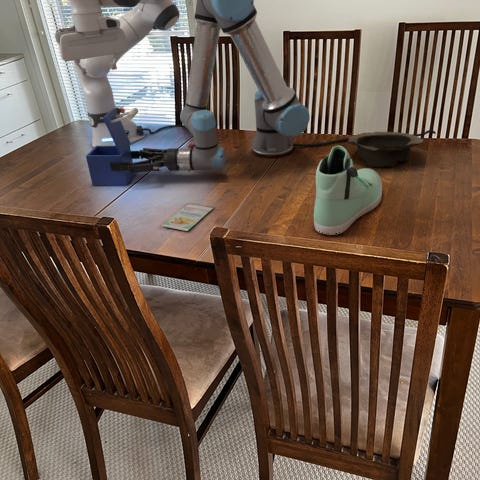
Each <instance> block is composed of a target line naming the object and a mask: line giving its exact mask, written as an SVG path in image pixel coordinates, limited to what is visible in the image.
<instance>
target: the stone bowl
mask: <svg viewBox="0 0 480 480" xmlns="http://www.w3.org/2000/svg"><path fill="white" fill-rule="evenodd" d="M348 138H349V140H348V141H347V143H348V144H351V145H353V146H356V150H357V151H356V152H357V154H358V155H360V157H361V159H363V160H364V161H366V164H367V166H368V167H372V168H375V167H376V168H385V167H394V166H396V165H397V164H398V162H406V161H408V160H409V158H410V151H411V148H413V147H416V146H419V145H420V144H422V143H424V142H425V141H424V139H422V138H420V136H418V137H417V136H414V135H411V133H407V132H397V131H373V132H362V133H358V134H353V135H351V136H349V137H348Z"/></svg>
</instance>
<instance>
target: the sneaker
mask: <svg viewBox="0 0 480 480" xmlns="http://www.w3.org/2000/svg"><path fill="white" fill-rule="evenodd" d="M317 165H318V166H317V168H316V172H315V201H314V207H313V225H314V229H315V231H316V232H318V233H320V234H323V235H326V236H327V235H328V236H336V235H339V234H342V233H344V232H345V231H347V230H348V229H349V228H350V227H351V226H352V225H353V224H354V222H356V221H357V220H358V219H359V218H360V217H362V216H363V215H365V214H367V213H370V212H372V210H374V209H375V208H377V207H378V205H380V203H381V200H382V196H383V184H382V183H383V182H382V179H381V176H380V175H379V173H378V172H377V171H376V170H374V169H372V168H367V167H365V168H358V169H357V168H355V167H354V161H353V159H352V158H351V156H350V153H349V152H348V150H347V148H345V147H344V146H342V145H334V146H333V147H331V149H330V151H329V154H327V155H326V156H325V157H324V158H322V159H321V160H320V161H319V163H318V164H317ZM343 230H344V231H343ZM319 231H320V232H319ZM322 232H323V233H322ZM339 232H340V233H339ZM326 233H327V234H326ZM328 233H329V234H328ZM335 233H337V234H335Z"/></svg>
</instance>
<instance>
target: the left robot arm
mask: <svg viewBox="0 0 480 480" xmlns="http://www.w3.org/2000/svg"><path fill="white" fill-rule="evenodd" d="M68 2H69V4H70V15H71V19H72V24H73V25H69V26H61V27H58V29H56V30H55V31H54V38H55V41H56V43H57V44H58V48H59V54H60V58H61V59H62V60H63V61H64V62H73V64H74V66H75V70H76V74H77V77H78V80H79V84H80V86H81V89H82V92H83V96H84V100H85V104H86V108H87V118H88V122H89V125H90V127H91V128H90V129H91V137H92V138H91V140H92V141H91V147H92V148H94V147H95V146H115V143H114V141H113V139H112V137H111V135H110V133H109V130H108V128H107V126H106V124H105V122H104V120H103V117H104V116H105V115H106V114H108V113H109V112H110V111H111V110H112V109H114V108H115V109H116V112H117V114H118V115H119V114H123V113H126V109H125V108H124V107H123V108H122V107H117V106H116V103H115V97H114V94H113V88H112V86H111V84H110V81H109V77H108V74H109V73H110V70H112V71H114V70H115V71H116V70H117V69H118V66H117V63H118V62H119V61H120V60H121V58H122V57H123V56H124V55H126V53H128V52H129V51H130V50H132V49H133V48H134V47H135V46H136V45H138V44H139V43H140V42H141V41H143V40H144V39H145V38H146V37H147V36H148V35H149V34H150V33H151V31H152V30H155V31H156V30H158V31H168V30H169V29H171V28H173V27H174V26H175V25H176V23H177V22H178V21H179V18H180V11H179V8H178V7H177V5H176V4H174V2H173V0H68ZM103 8H104V9H105V8H107V9H108V8H129V9H130V8H132V9H130V10H128V11H126V12H125V13H123V14H122V15H121V16H120V17H119V18H114V17H110V16H108V15H106V16H104V15H103V10H102V9H103ZM122 117H124V116H122ZM119 118H121V117H119ZM120 121H121V123H122V125H123V127H124V130H125V132H126V134H127V136H128V139H129V141H130V143H131V144H132V143H135V142H137V141H139V140H141V139H143V138H145V137H146V135H145V131H146V132H147V131H148V132H149V135H154V134H157V133H158V132H160V131H163V130H165V129H171V128H186V127H185V126H184V125H183V124H174V125H173V124H172V125H167V126H162V127H159V128H158V129H156V130H155V131H152V130H151V129H150V128H146V127H145V128H143V126H142V125H137V124H136V123H135V122H134V121H133V120H132V119H131V120H129V119H128V118H127V119H124V120H120Z"/></svg>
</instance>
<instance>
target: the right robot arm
mask: <svg viewBox="0 0 480 480" xmlns="http://www.w3.org/2000/svg"><path fill="white" fill-rule="evenodd" d="M254 2H255V0H196V3H195V10H194V21H195V24H196V27H195V35H194V42H193V49H192V56H191V62H190V70H189V76H188V83H187V89H186V97H185V103H184V107H183V108H182V109H181V111H180V116H179V117H180V121H181V123H182V125H184V126H185V127H184V128H185V129H187V130H188V131H189V132H190V134H191V135H192V137H193V142H194V143H195V146H194V147H195V148H194V147H190V148H188V147H181V148H178V147H174V148H173V147H172V148H171V147H170V148H164V149H163V148H149V147H143V148H142V149H140V150H131V154H132V160H139V161H135V162H134V161H133V163H130V162H111V163H110V166H111V170H112V171H129V172H130V174H133V173H135V174H139V173H141V174H142V173H149V172H160V170H161V169H160V168H165V167H166V169H167V170H168V171H169V172H178V171H183V172H185V171H186V172H191V171H210V172H212V171H222V170H224V169H225V167H226V163H227V162H226V161H227V159H226V158H227V157H226V150H225V148H224V147H220V146H219V144H218V135H217V121H216V116H215V113H214V112H213V111H212V110H208V104H209V98H210V91H211V85H212V78H213V75H214V69H215V62H216V58H217V57H216V56H217V50H218V45H219V39H220V32H221V31H222V33H223V34H225V35H229V36H230V38H231V39H232V41H233V43H234V45H235V47H236V49H237V51H238V53H239V55H240V57H241V59H242V61H243V63H244V65H245V66H246V68H247V70H248V72H249V74H250V76H251V78H252V80H253V82H254V83H255V85H256V87H257V91H255V92H254V100H253V102H254V111H255V112H254V113H255V126H256V127H255V128H256V129H255V131H256V132H255V136H254V139H253V142H252V153H253V154H254V155H256V156H258V157H261V158H280V157H284V156H287V155H289V154H291V153H292V152H293V150H294V147H319V146H325V145H332V144H336V143H340V142H348V141H349V137H344V138H339V139H335V140H330V141H323V142H315V143H293V141H292V139H293V138H296V137H298V136H300V135H302V134H303V133H304V132H305V131H306V129H307V128H308V125H309V123H310V118H311V117H310V111H309V110H308V108H307V106H306V105H304V104H303V103H301V102H300V100H299V98H298V95H297V94H296V91H295V89H294V88H292V87H289V86H287V83H286V81H285V79H284V77H283V75H282V73H281V70H280V69H279V66H278V64H277V63H276V60H275V59H274V56H273V54H272V52H271V50H270V47H269V46H268V44H267V41H266V39H265V37H264V36H263V33H262V31H261V29H260V27H259V25H258V23H257V20H256V19H257V15H258V11H257V9H256V6H255V4H254ZM429 133H431V134H434V135H436V134H437V132H436V131H435V130H433V129H429V130H426V131H424V132H421V133H412V134H411V133H410V134H411V135H414V136H417V137H423V136H425V135H428V134H429ZM143 159H144V160H143Z"/></svg>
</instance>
